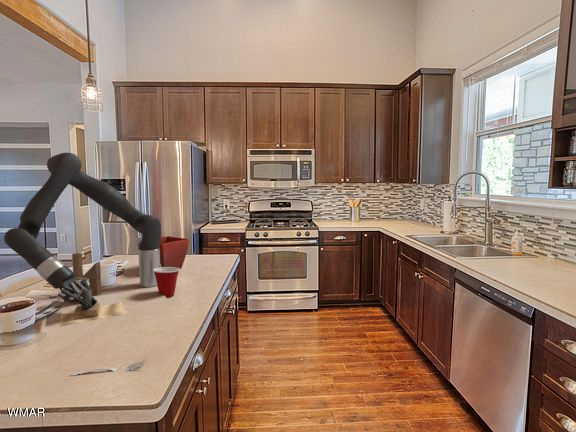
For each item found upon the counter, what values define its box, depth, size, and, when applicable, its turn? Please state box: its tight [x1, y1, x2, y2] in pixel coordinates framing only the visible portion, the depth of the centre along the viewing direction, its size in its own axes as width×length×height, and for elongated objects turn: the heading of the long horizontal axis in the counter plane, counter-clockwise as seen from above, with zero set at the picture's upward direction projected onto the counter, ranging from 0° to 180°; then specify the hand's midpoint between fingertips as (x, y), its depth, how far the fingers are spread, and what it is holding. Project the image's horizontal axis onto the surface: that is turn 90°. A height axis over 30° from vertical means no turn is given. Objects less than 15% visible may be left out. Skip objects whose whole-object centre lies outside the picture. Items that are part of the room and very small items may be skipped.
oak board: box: [59, 301, 128, 327], centre depth 123 cm, size 20×14×2 cm
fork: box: [71, 359, 147, 376], centre depth 87 cm, size 3×24×2 cm, turn 103°
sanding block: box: [74, 290, 100, 319], centre depth 121 cm, size 7×7×8 cm
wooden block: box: [71, 252, 102, 296], centre depth 148 cm, size 4×11×18 cm, turn 92°
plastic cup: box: [153, 267, 181, 299], centre depth 146 cm, size 11×11×12 cm
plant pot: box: [139, 235, 190, 270], centre depth 190 cm, size 19×19×17 cm
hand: (92, 305), depth 121 cm, fingers closed on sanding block, 3 cm apart
